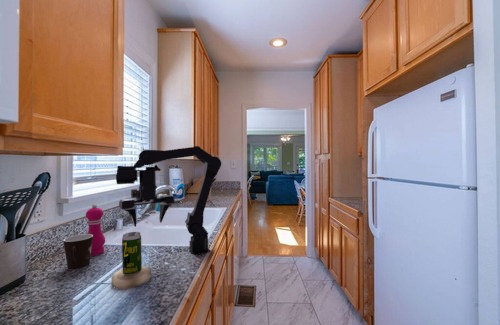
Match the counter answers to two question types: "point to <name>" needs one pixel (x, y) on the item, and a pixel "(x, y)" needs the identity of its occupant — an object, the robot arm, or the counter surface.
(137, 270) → the beer can
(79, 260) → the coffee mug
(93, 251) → the pepper mill
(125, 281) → the plate
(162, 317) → the counter surface
